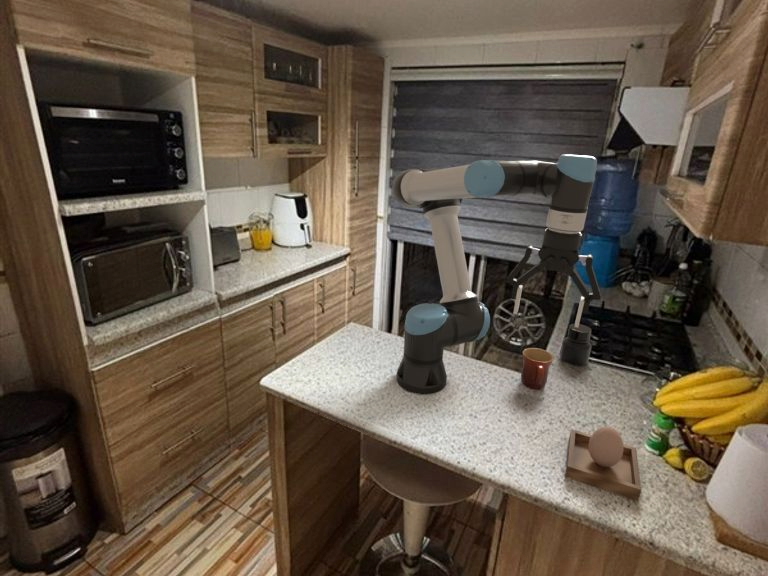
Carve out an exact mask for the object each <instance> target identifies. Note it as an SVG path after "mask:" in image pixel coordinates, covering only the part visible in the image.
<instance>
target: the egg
mask: <svg viewBox="0 0 768 576" xmlns="http://www.w3.org/2000/svg"><path fill="white" fill-rule="evenodd" d="M591 435H592V436H591V438H590V440H589V445H588V448H589V453H590V456H591V457H592V459H593V460H594V461H595V462H596V463H597V464H598V465H600V466H603V467H610V466H613V465H615V464H617V463H618V462H619V461H620V459H621V457H622V455H623V444H624V442H623V438H622V435H621V434H620V432H619V431H618V430H617V429H616V428H614V427H612V426H609V425H604V426H600V427H598V428H597V429H596V430H595V431H594V432H593V433H592V434H591Z"/></svg>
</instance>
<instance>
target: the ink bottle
mask: <svg viewBox="0 0 768 576" xmlns="http://www.w3.org/2000/svg"><path fill="white" fill-rule="evenodd" d="M591 335H592V328H591V327H589V326H587V325H584V324H581V323H579V326H578V328H577V327H575V323H571V324H570V325H568V330H567V337H566V336H565V338H564V339H563V340H562V343H561V349H560V354H559V358H560V359H561V360H562V361H563V362H565V363H566V364H569V365H573V366H579V367H581V366H582V367H583V366H585V365H587V364H588V363H589V359H590V355H591V351H592V344H591V342H590V339H591Z"/></svg>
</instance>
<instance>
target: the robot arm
mask: <svg viewBox="0 0 768 576" xmlns="http://www.w3.org/2000/svg"><path fill="white" fill-rule="evenodd" d="M597 166H598V160H597V158H596V157H594V156H592V155H579V154H561V155H560V156H559V157H558V161H557V162H547V161H541V160H536V159H520V160H493V159H480V160H475V161H473V162H471V163H470V164H464V165H459V166H454V167H452V166H451V167H447V168H442V167H441V168H409V169H406V170H403V171H401V172H400V173H398V174H397V176H396V177H395V178H394V180H393V183H392V187H391V188H392V195H393V197H394V199H395V201H396V202H397V203H398V204H399V205H401V206H403V207H404V208H409V209H422V212H423V216H424V218H426V219H427V220H428V221H429V224H430V230H431V234H432V240H433V246H434V252H435V258H436V261H437V262H436V263H437V268H438V274H439V279H440V285H441V290H442V298H441V299H440V301H439V303H433V302H432V303H429V302H426V303H420V304H416V305H414V306H412V307H410V308H409V310H408V311H407V313H406V316H405V322H404V341H403V356H402V359H401V361H400V363H399V365H398V368H397V370H396V377H395V378H396V383H397V384H398V386H399V387H400V388H402V389H403V390H405V391H407V392H409V393H411V394H412V393H413V394H418V395H431V394H432V395H433V394H437V393H440V392H441V391H442V390H444V389H445V388H446V386H447V381H448V380H447V379H448V377H447V371H446V368H445V367H446V366H445V364H444V363H445V362H444V360H443V358H444V349H446V348H449V347H453V346H458V345H462V344H466V343H473V342H475V341H477V340H478V341H479V340H481V339H483V337H485V336H486V334H487V332H488V331H489V329H490V324H491V316H490V313H489V309H488V308H487V307H486V305H485V304H484V303H483V302H481V301H479V297H478V294H476V293H474V292H473V291H472V286H471V282H470V277H469V270H468V266H467V260H466V255H465V250H464V243H463V238H462V234H461V228H460V223H459V218H458V214H459V213H460V212H461V210H462V206H461V205H463V203H464V201H465V199H472V198H473V199H474V198H491V197H492V198H493V197H515V196H516V197H518V196H519V197H521V196H536V197H542V198H546V199H550V202H549V207H548V213H547V218H546V223H545V225H546V227H547V228H546V229H544V235H543V240H542V243H541V244H542V245H541V248H536V247H534V246H533V245H528V246H527V248H526V250H525V253H524V255H523V257H522V258H521V259H520V260H519V262H518V263H517V264H516V266H514V269H512V270H511V272H510V273H509V275H508V276H507V277H506V279H505V282H506V284H510V285H512V292H511V299H512V300H515V301H514V308H513V314H514V315H518V313H519V308H520V303H521V302H520V301H521V297H522V292H523V286H524V285H523V283H525V282H527V280H529V279H530V278H531V277H533V276H534V275H535V274H537V273H539V272H540V271H541V270H543V269H544V268H545V269H546V270H547V271H551V272H552V271H553V272H554V271H555V272H558V273H565V272H566V273H567V274H568V276H569V277H570V278H571V280H572V282H573V283H574V284H575V286H576V287H577V289H578V291H579V292H580V293H581V295H582V296H580V300H579V303H578V304H579V305H578V309H577V313H576V318H575V321H574V324H575V327H577V328H578V326H579V324H580V321H581V318H582V314H588V312H589V308H590V306H591V305H590V304H591V301H594V300H595V301H599V300H601V297H602V295H601V290H600V287H599V283H598V281H597V277H596V274H595V271H594V268H593V258H594V257H593V254H587V255H581V254H579V251H580V250H579V249H580V245H581V241H582V237H583V236H582V235H583V234H582V233H581V232H582V231H583V230H584V228H585V223H586V219H587V213H588V206H589V204H590V203H589V202H590V198H591V194H592V191H593V187H594V184H595V181H596V171H597V168H598V167H597ZM535 255H538V257H539V259H540V261H539V262H537V263H536V264H535V265H534V266H533V267H531V268H530V269H528V270H527V271H526V272H524V273H523V274H521V275H520V276H519V277H518V278H516V277H517V275H518V273H520V272H521V270H522V269H523V268H524V266H525V265H526V264H527V262H528V261H529V259H530V258H534V257H535ZM578 262H581V265H582V266H583V267H585V271H586V274H587V278H588V281H589V284H590V288H591V291H592V292H591V291H590V290H589V289H588V287H587V285H586V284H585V282H584V280H582V278H581V276H580V275H579V273H578V271H577V269H576V268H575V265H576V264H577V263H578Z"/></svg>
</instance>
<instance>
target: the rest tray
mask: <svg viewBox="0 0 768 576" xmlns="http://www.w3.org/2000/svg"><path fill="white" fill-rule="evenodd" d="M591 436H592V434H589V433H587V432H582V431H579V430H577V429H573V428H571V429H570V433H569V438H568V444H567V454H566V455H567V456H566V465H565V474H564V477H565V478H567V479H570V480H573V481H576V482H578V483H582V484H584V485H587V486H591V487H594V488H596V489H600V490H602V491H603V490H604V491H606V492H609V493H612V494H614V495H617V496H621V497H623V498H627V499H629V500H633V501H637V502H639V499H640V497H641V493H642V484H641V477H640V467H639V460H638V453H637V452H638V451H637V447H634V446H632V445H627V444H624V443H623V455H622V457H621V459H620V461H619V462H618V463H617V464H615V465H613V466H610V467H603V466H600V465H598V464H597V463H596V462H595V461H594V460H593V459H592V457H591V456H590V453H589V448H588V445H589V440H590V438H591Z"/></svg>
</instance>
